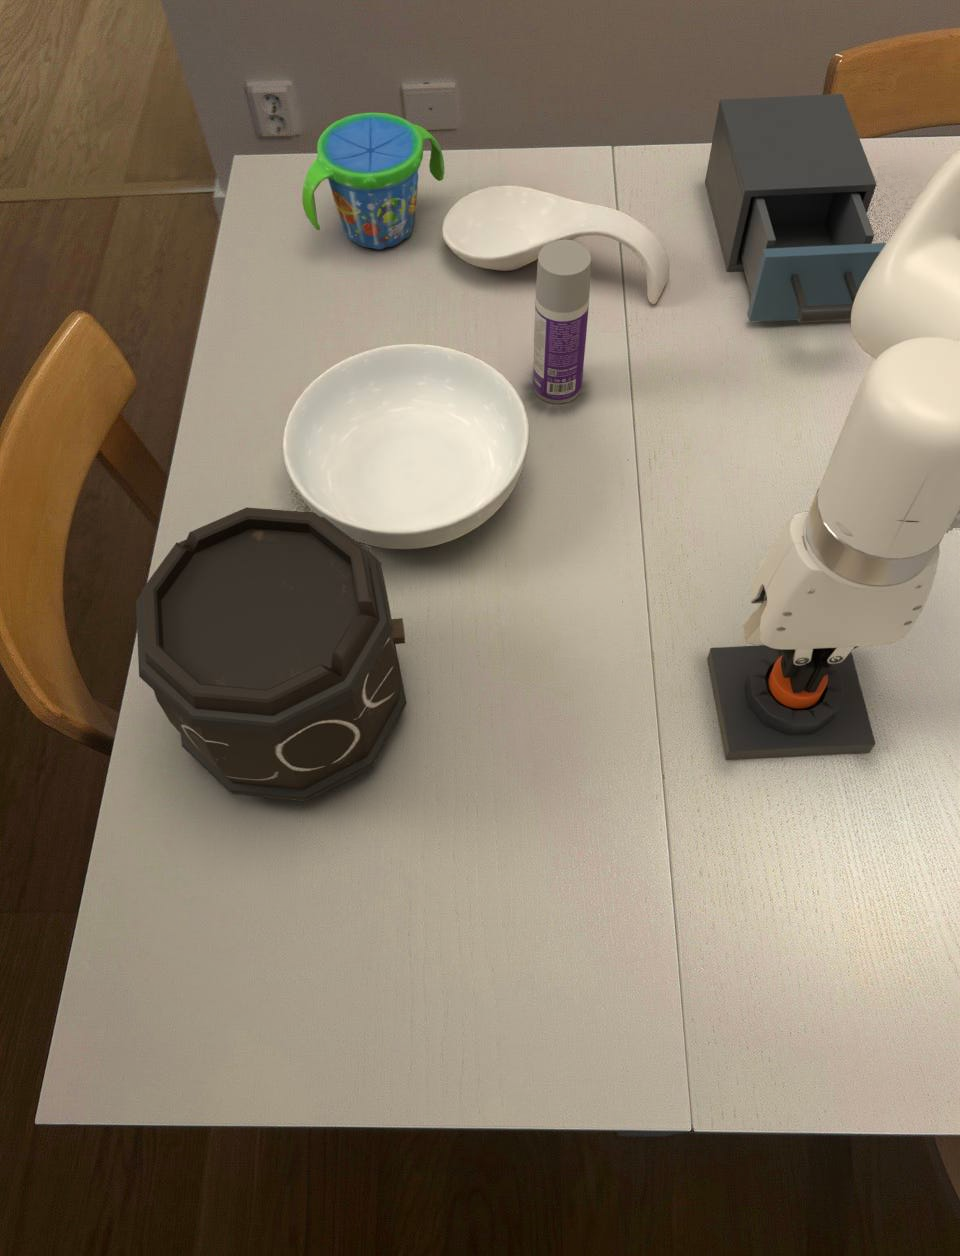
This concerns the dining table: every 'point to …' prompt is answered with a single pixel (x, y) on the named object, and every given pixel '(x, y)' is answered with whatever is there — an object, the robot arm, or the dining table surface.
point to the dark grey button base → (785, 709)
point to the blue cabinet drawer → (806, 255)
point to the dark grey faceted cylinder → (273, 652)
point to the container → (561, 320)
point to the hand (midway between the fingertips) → (799, 675)
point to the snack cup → (372, 176)
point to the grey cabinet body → (780, 158)
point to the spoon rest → (542, 230)
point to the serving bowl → (407, 445)
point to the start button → (784, 693)
